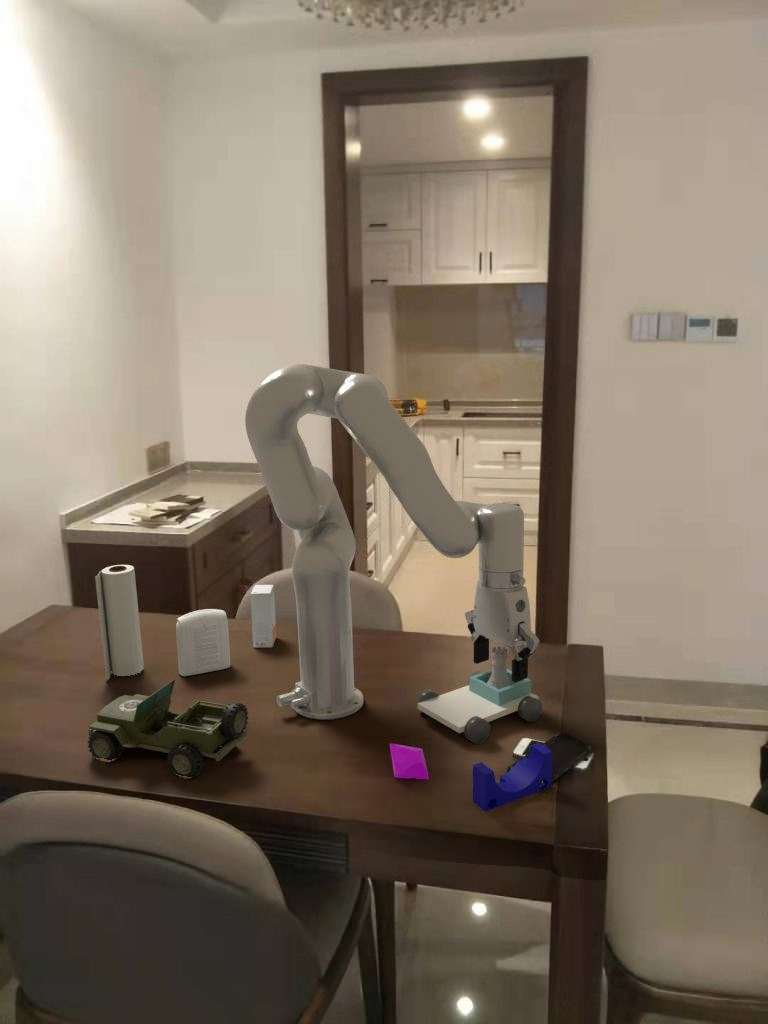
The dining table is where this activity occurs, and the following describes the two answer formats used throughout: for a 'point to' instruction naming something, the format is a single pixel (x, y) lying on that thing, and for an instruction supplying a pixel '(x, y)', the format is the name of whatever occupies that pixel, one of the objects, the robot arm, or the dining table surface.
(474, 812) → the dining table surface
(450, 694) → the chassis
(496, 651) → the rook chess piece
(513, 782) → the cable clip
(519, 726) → the dining table surface
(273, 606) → the skincare box
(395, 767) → the crystal
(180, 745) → the toy jeep
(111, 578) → the paper towel roll
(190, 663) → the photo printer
